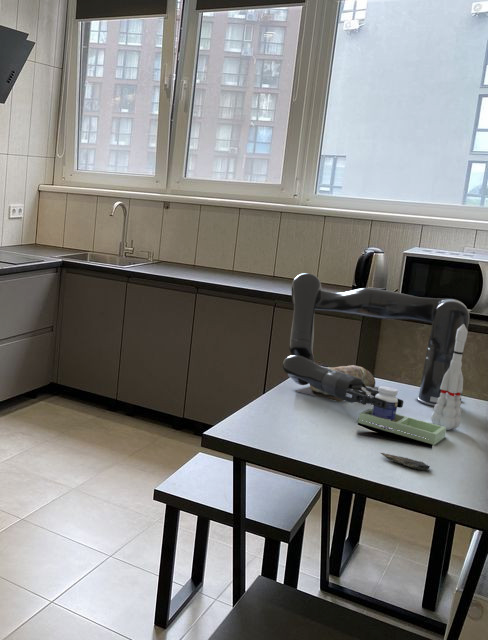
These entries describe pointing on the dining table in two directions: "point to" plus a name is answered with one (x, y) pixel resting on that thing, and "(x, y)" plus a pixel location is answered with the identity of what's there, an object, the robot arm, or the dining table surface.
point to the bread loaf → (349, 370)
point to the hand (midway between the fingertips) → (393, 404)
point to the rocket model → (451, 388)
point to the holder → (406, 427)
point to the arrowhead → (407, 462)
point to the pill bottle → (392, 401)
